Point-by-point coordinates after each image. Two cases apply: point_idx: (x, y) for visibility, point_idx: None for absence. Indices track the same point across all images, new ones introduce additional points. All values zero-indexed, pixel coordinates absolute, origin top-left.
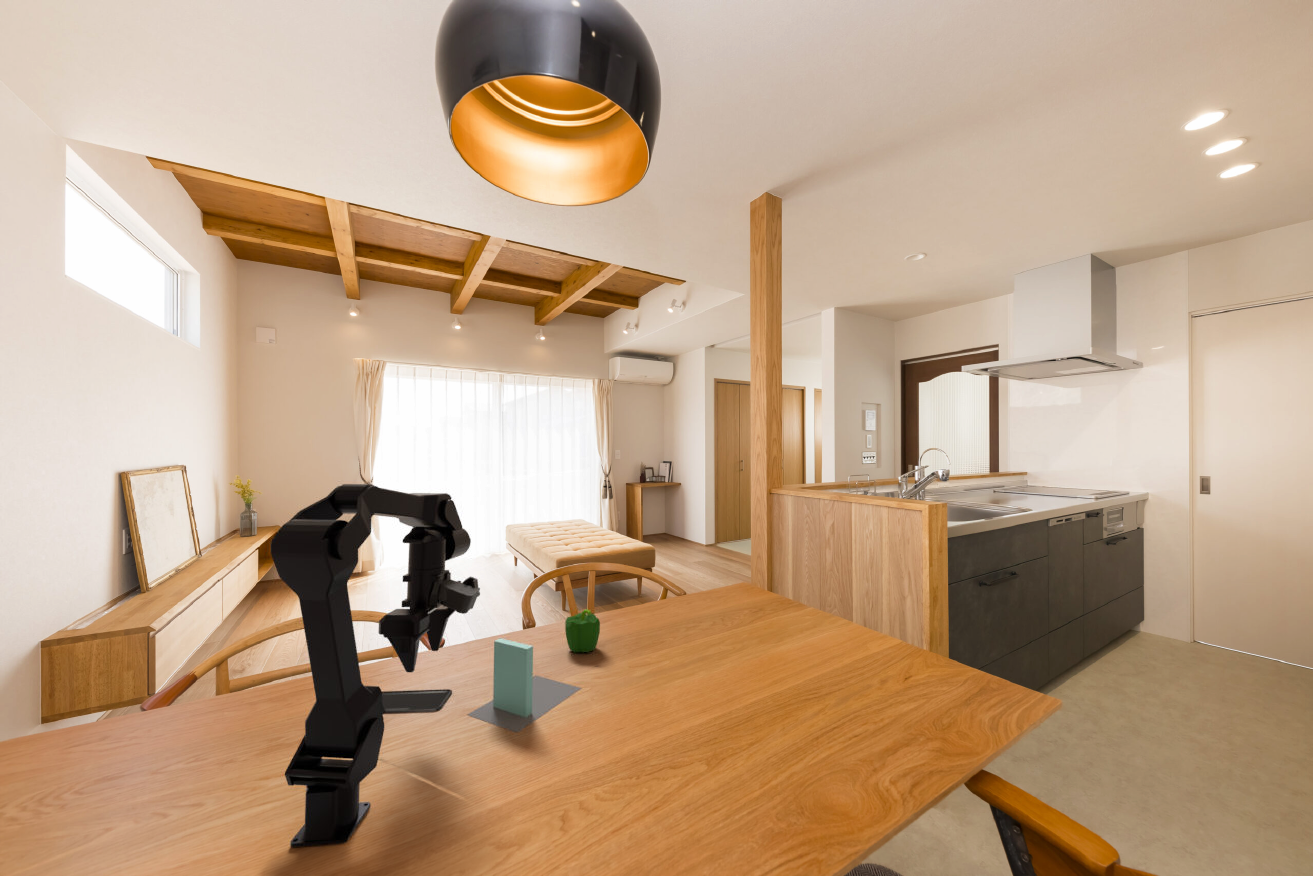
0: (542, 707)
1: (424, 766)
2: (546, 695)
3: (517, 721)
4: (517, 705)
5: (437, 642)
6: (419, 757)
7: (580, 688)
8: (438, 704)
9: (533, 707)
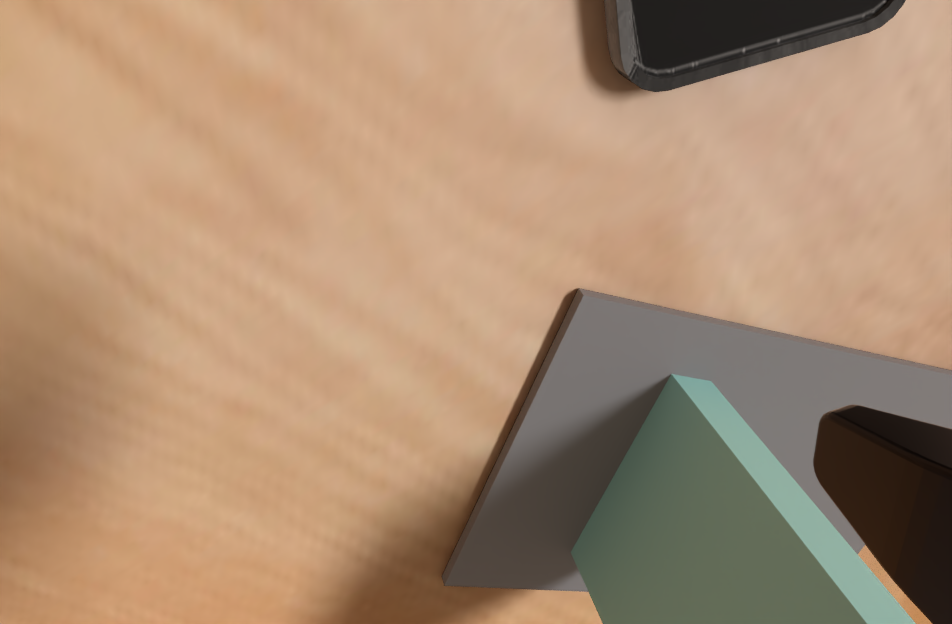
0: None
1: (59, 380)
2: None
3: (535, 541)
4: (611, 549)
5: (901, 561)
6: (122, 300)
7: None
8: (702, 41)
9: None
